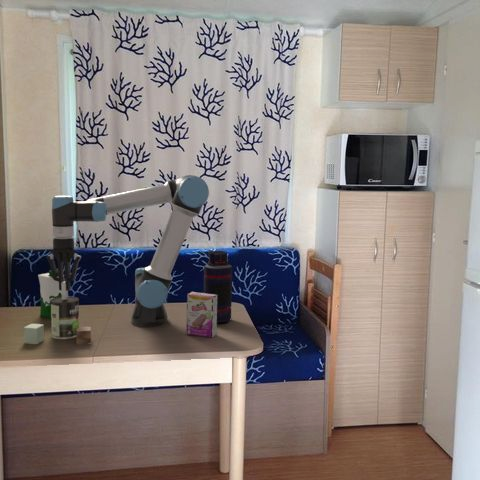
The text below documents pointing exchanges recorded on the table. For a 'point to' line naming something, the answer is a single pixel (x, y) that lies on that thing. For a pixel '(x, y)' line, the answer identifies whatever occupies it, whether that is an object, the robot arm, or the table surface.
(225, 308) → the dark capped bottle
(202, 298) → the candy bar box
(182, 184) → the robot arm
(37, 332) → the sage block
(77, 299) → the coffee can
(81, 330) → the brown wooden cube
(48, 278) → the milk carton
